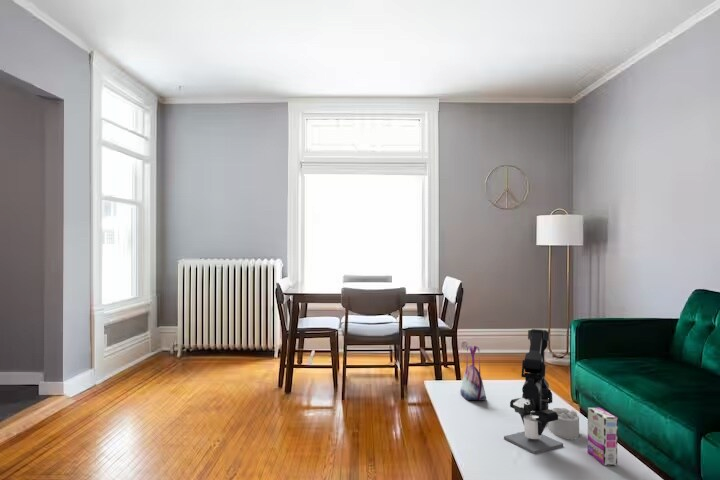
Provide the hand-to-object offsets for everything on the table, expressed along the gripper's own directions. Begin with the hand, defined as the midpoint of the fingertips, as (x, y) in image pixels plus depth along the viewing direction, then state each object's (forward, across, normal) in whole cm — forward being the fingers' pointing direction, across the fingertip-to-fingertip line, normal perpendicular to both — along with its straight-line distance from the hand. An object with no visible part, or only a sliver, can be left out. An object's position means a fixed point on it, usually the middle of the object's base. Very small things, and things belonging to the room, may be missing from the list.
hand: (533, 432), depth 184 cm
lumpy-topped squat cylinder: (+4, -1, +19) cm, 19 cm away
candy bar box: (+4, +21, +11) cm, 24 cm away
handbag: (+4, -53, +16) cm, 55 cm away
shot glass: (+2, 0, 0) cm, 2 cm away
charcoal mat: (+4, 0, 0) cm, 4 cm away
